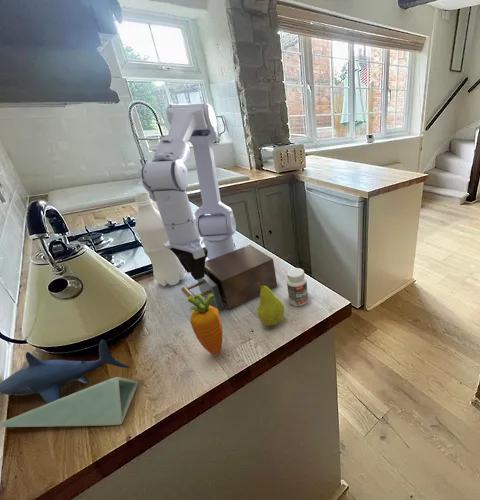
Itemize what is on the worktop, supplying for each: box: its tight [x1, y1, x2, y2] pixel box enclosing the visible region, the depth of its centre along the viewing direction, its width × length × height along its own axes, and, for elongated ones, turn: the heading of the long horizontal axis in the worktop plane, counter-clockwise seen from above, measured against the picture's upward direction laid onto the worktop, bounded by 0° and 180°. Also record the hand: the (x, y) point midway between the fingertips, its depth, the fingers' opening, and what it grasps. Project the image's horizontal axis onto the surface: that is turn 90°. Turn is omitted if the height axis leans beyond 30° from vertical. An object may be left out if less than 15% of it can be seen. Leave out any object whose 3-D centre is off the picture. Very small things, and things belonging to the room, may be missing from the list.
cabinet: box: [205, 244, 278, 311], centre depth 77 cm, size 14×12×9 cm
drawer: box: [180, 269, 226, 311], centre depth 74 cm, size 17×10×7 cm, turn 136°
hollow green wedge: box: [0, 376, 139, 428], centre depth 46 cm, size 8×6×18 cm
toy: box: [0, 339, 130, 404], centre depth 51 cm, size 10×22×10 cm, turn 96°
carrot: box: [186, 293, 224, 357], centre depth 56 cm, size 5×5×15 cm
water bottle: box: [133, 192, 185, 287], centre depth 77 cm, size 7×7×25 cm
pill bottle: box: [286, 267, 309, 307], centre depth 72 cm, size 5×5×8 cm
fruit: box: [256, 282, 285, 326], centre depth 65 cm, size 6×6×12 cm
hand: (195, 274), depth 68 cm, fingers open, 4 cm apart
